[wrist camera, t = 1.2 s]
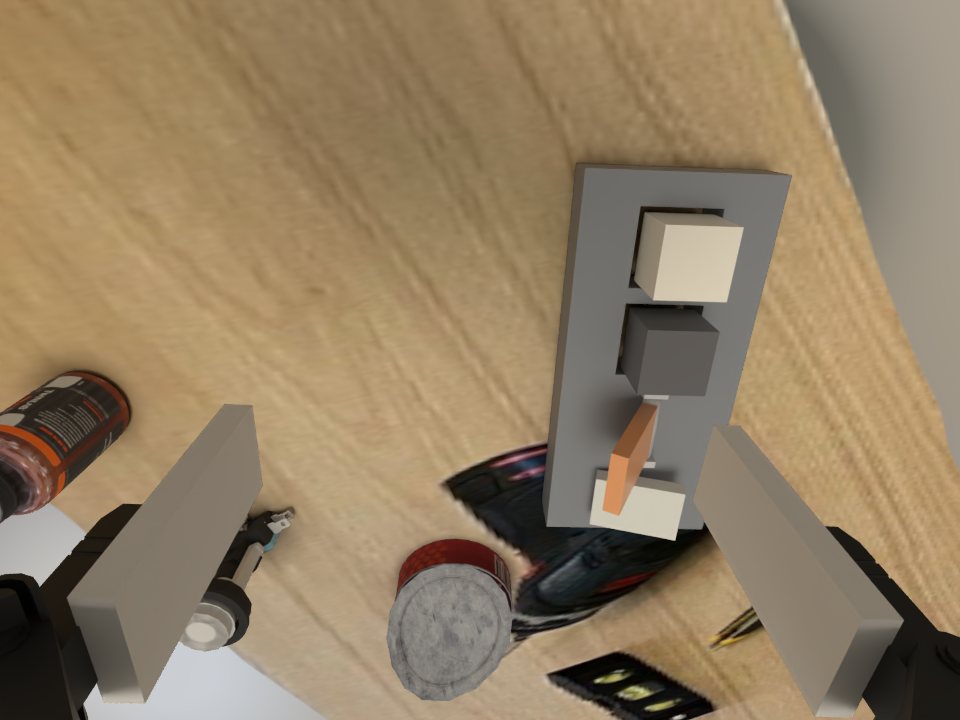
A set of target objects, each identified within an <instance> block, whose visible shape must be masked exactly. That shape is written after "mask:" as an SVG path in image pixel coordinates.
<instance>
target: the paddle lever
mask: <svg viewBox="0 0 960 720" xmlns="http://www.w3.org/2000/svg"><path fill="white" fill-rule="evenodd" d="M661 402H662V399H644V398H643V402H642V404H641V406H640V407H639V409H638V411H637V412H636V414H635V415H634V417H633V419H632V420H631V422H630V424H629V425H628V427H627V429H626V430H625V432H624V433H623V435H622V437H621V438H620V440H619V442H618V443H617V445H616V446H615V448H614V450H613V451H612V453H611V458H610V465H609V471H608V477H607V484H606V490H605V496H604V503H603V509H602V510H603V511H606V512H609V513H612V514H615V515H617V516H619V515H620V513H621V511H622V509H623V507H624V505H625V503H626V501H627V499H628V497H629V495H630V493H631V491H632V489H633V487H634V485H635V483H636V481H637V479H638V477H639V475H640V473H641V471H642V469H643V467H644V465H645V462H646V460H647V458H650V457H651V454H652V449H653V444H654V438H655V433H656V428H657V423H658V418H659V413H660V408H661Z"/></svg>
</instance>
